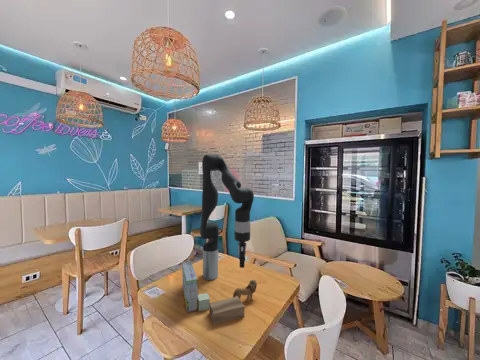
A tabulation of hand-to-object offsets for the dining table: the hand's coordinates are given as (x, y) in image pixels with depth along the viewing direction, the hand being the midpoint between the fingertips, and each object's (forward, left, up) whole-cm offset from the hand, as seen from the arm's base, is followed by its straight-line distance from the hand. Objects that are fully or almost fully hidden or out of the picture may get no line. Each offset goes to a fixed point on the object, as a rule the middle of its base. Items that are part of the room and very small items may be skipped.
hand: (242, 263), depth 101 cm
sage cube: (-5, -18, -21) cm, 28 cm away
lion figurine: (-4, +3, -21) cm, 22 cm away
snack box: (-14, -23, -21) cm, 34 cm away
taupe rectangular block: (+4, -9, -21) cm, 23 cm away
